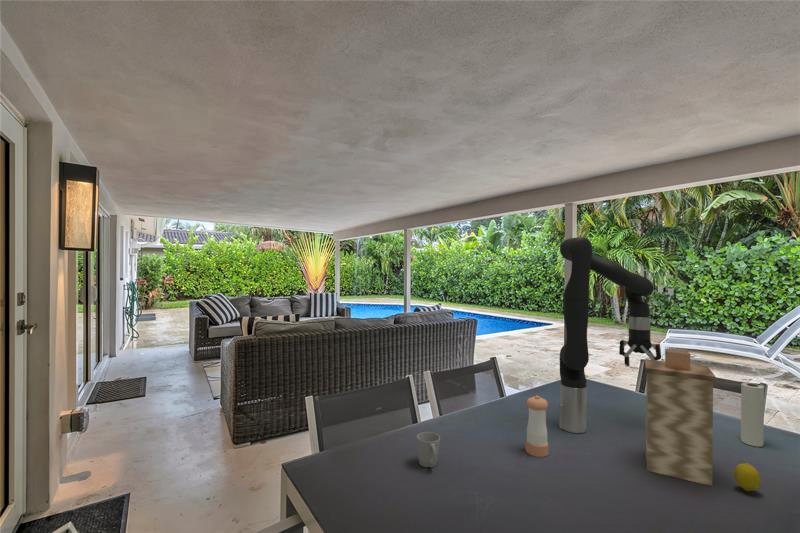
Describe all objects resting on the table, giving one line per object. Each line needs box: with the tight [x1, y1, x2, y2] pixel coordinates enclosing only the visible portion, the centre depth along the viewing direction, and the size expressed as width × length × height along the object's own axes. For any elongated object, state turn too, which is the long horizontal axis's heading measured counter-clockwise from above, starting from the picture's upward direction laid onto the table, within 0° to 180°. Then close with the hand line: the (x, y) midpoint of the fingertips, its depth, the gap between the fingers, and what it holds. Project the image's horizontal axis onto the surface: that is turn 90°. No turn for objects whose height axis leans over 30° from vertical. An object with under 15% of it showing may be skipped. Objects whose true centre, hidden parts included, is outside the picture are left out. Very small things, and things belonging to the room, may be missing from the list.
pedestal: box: [644, 358, 717, 487], centre depth 122 cm, size 17×15×32 cm
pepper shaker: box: [525, 395, 549, 458], centre depth 132 cm, size 7×7×19 cm
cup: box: [415, 431, 441, 468], centre depth 122 cm, size 8×10×8 cm
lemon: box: [733, 462, 761, 493], centre depth 110 cm, size 6×6×8 cm
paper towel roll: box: [740, 382, 765, 448], centre depth 140 cm, size 7×6×21 cm
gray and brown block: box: [664, 348, 691, 370], centre depth 129 cm, size 6×22×5 cm, turn 149°
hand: (639, 367), depth 156 cm, fingers open, 8 cm apart
